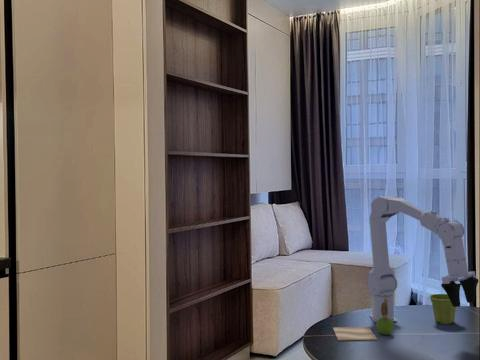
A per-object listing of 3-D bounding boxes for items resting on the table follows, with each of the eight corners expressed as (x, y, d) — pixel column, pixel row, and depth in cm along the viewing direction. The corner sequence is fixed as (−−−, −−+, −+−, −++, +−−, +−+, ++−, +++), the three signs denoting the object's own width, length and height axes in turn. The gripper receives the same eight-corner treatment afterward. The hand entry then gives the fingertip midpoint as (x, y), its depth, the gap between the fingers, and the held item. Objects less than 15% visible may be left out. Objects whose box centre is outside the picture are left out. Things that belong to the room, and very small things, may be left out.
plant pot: (462, 325, 172) (461, 299, 172) (432, 325, 174) (431, 299, 174) (456, 318, 181) (455, 294, 181) (428, 318, 183) (427, 293, 183)
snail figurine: (395, 332, 167) (394, 295, 167) (392, 337, 161) (391, 299, 161) (378, 330, 169) (377, 294, 170) (375, 335, 164) (373, 298, 164)
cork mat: (333, 328, 173) (333, 327, 173) (369, 328, 173) (369, 326, 173) (338, 340, 160) (337, 339, 160) (377, 340, 159) (377, 339, 159)
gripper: (453, 261, 153) (461, 308, 151) (481, 256, 161) (489, 301, 159) (433, 263, 158) (440, 308, 156) (460, 258, 166) (468, 300, 164)
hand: (463, 304), depth 158 cm, fingers open, 7 cm apart
